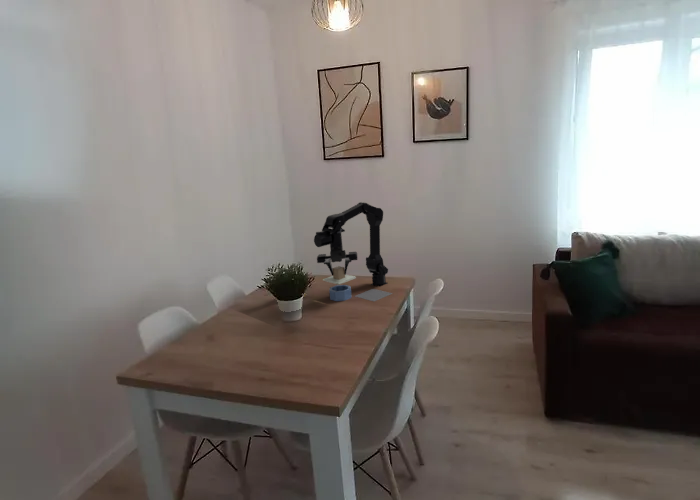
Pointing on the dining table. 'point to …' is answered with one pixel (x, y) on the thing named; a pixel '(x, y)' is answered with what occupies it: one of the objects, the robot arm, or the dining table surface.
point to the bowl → (340, 292)
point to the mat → (373, 295)
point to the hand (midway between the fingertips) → (339, 274)
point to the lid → (339, 276)
